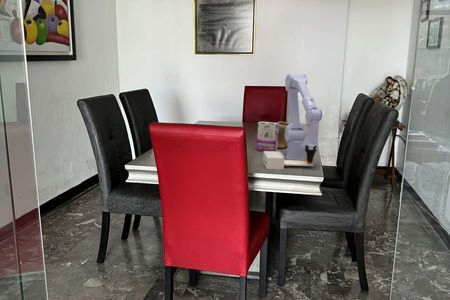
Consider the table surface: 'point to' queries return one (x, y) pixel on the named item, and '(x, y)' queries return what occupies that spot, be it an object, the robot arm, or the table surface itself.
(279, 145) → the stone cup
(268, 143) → the candy bar box
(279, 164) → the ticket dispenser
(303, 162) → the cream slab with block
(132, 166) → the table surface
